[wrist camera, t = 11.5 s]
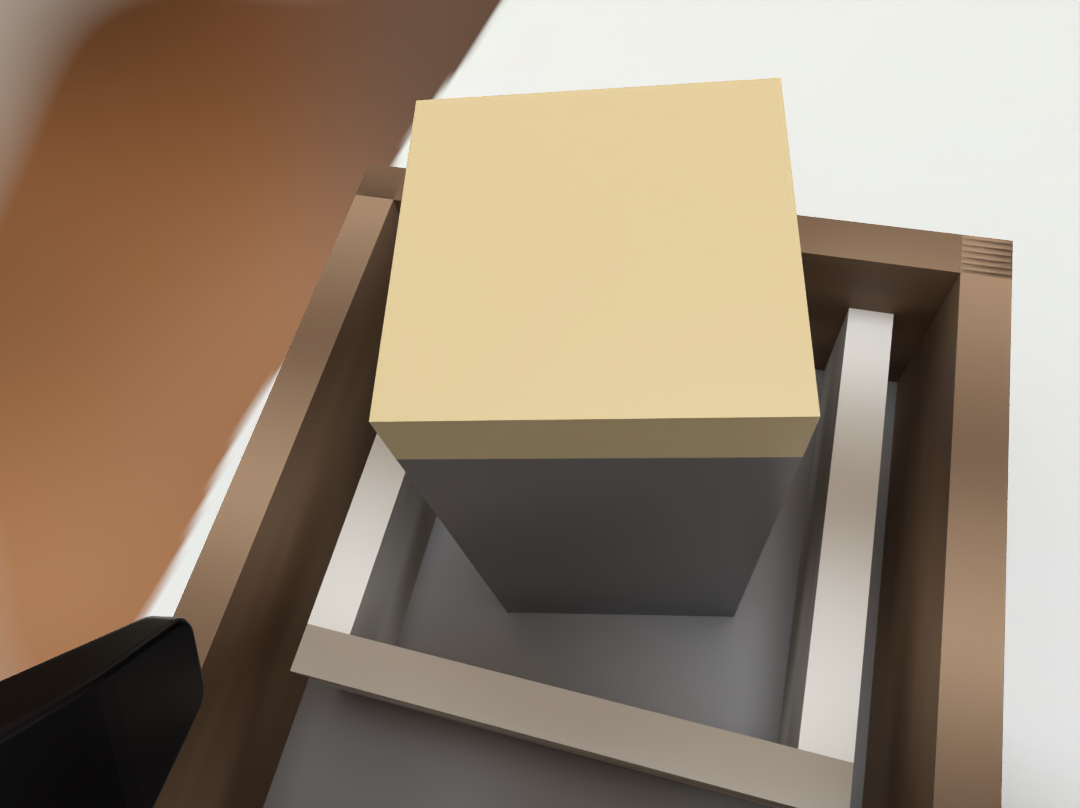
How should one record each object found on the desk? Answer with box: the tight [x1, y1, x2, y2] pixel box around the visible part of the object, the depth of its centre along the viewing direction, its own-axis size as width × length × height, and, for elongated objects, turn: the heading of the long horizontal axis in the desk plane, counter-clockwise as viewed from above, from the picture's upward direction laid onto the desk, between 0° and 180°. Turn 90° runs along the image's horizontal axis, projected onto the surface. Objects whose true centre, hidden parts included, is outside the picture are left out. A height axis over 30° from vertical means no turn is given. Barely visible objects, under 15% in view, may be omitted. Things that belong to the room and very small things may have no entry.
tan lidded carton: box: [369, 78, 820, 617], centre depth 13 cm, size 4×4×9 cm
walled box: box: [154, 164, 1013, 808], centre depth 13 cm, size 20×12×4 cm, turn 165°
